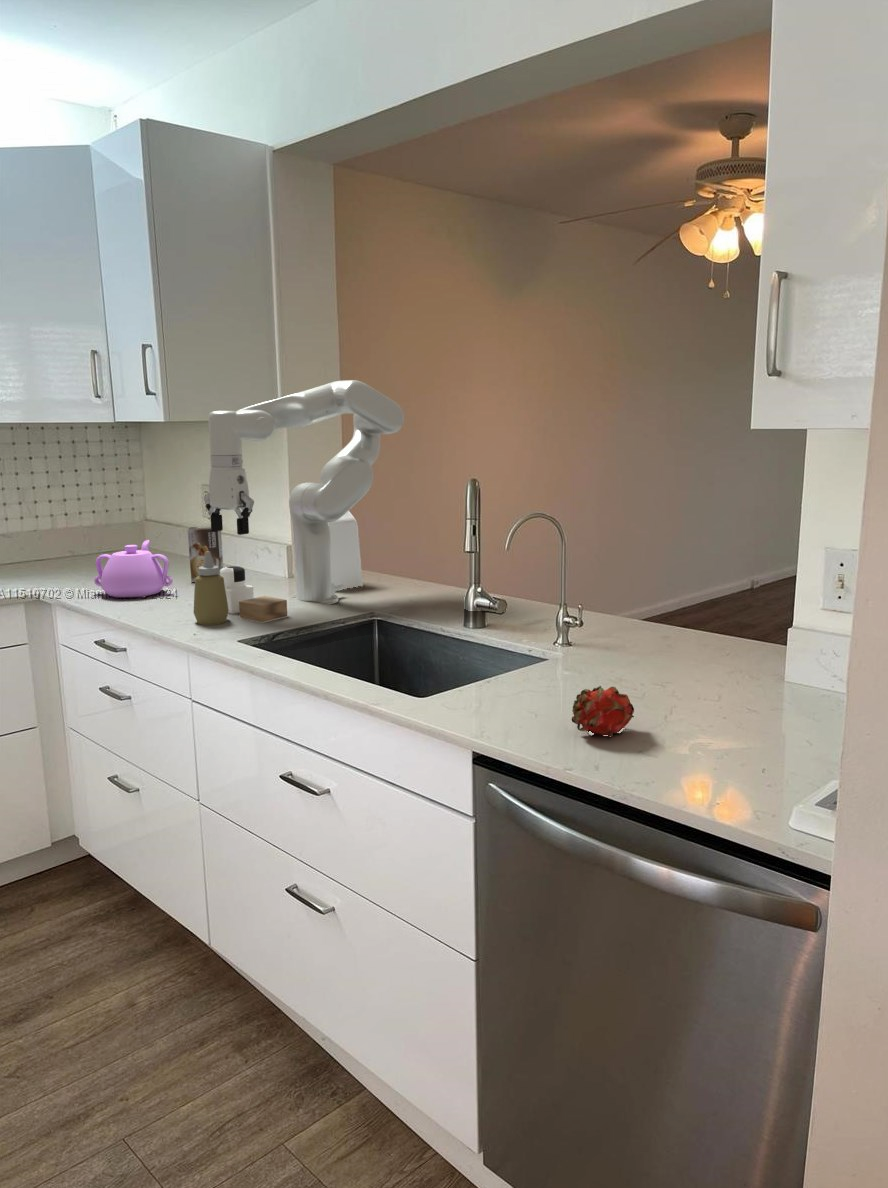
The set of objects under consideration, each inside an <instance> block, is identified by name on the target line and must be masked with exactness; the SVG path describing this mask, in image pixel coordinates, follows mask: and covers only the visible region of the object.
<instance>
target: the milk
mask: <svg viewBox="0 0 888 1188" xmlns="http://www.w3.org/2000/svg"><path fill="white" fill-rule="evenodd" d="M358 525H359V524H358V521H357V520H356V518H355V517H354V515H353V514H352V513H351V512H350V510H349V511H348V512H347V513H346V514H345V515H343V516H342V517H341V518H340V519H338V520H336V521H334V522H328V526H329V530H330V540H331V544H330V546H331V578H332V583H334V584H339V583H343V585H344V590H348V589H347V588H350V589H354V588H353V587H356V588H359V587H358V586H361V587H364V585H363V584H364V583H363V572H362V561H361V547H360V545H361V544H360V537H359V536H360V535H359V526H358Z"/></svg>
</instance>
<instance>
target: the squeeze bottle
mask: <svg viewBox="0 0 888 1188" xmlns="http://www.w3.org/2000/svg"><path fill="white" fill-rule="evenodd" d="M198 571H199V575H200V576H198V577H197V578H196V579H195V583H194V595H193V614H194V617H195V619H196V622H197V623H198V625H203V626H204V625H207V626H209V625H210V626H213V625H219V624H223V623H226V622H227V618H228V615H229V613H228V612H229V609H228V603H227V597H226V591H225V584H224V578H223V577H222V576H221V575H218V574H219V567H218V566H214V563H213V560H212V556H211V553H210V551H207V552H205V556H204V562H203V566H202V567H199V568H198Z"/></svg>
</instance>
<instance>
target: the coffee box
mask: <svg viewBox="0 0 888 1188" xmlns="http://www.w3.org/2000/svg"><path fill="white" fill-rule="evenodd" d="M187 541H188V554H189V556H188V557H189V568H190V579H191V580H190V581H191V583H192V582H195V579H196V578H197V577H198V576H200V575H199V571H198V568H199V567H202V566H203V562H204V556H205V552H207V551H210V553H211V556H212V560H213V563H214V566H218V567H219V574H218V575H220V570H221V569H222V568H224V557H223V544H222V543H223V541H222V531H215V532H212V531H211V526H191V527H189V528H188V529H187Z"/></svg>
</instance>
